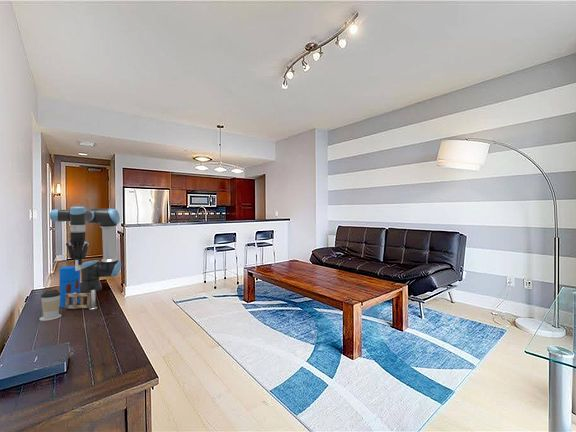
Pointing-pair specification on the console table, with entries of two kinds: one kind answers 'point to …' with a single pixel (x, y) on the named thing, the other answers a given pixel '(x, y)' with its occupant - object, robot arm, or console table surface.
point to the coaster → (50, 318)
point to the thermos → (69, 284)
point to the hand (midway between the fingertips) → (77, 270)
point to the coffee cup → (50, 304)
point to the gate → (75, 300)
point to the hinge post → (92, 300)
